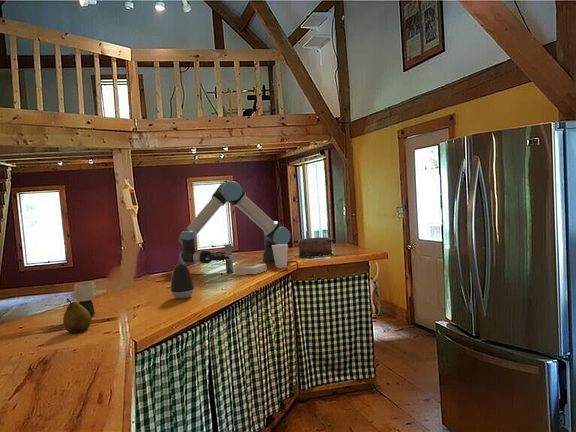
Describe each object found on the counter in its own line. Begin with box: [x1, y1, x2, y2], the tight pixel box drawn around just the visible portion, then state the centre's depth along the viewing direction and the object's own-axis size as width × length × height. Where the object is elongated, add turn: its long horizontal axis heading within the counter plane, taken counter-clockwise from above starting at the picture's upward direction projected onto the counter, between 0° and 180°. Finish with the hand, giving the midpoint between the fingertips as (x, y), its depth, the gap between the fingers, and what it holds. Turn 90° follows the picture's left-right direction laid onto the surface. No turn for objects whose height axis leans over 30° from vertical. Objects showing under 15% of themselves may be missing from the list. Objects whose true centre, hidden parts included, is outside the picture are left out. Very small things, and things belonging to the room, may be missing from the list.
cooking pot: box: [293, 236, 337, 258], centre depth 329 cm, size 30×22×11 cm
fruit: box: [62, 298, 92, 334], centre depth 167 cm, size 9×9×12 cm
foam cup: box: [272, 243, 289, 269], centre depth 283 cm, size 10×9×13 cm
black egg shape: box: [170, 263, 195, 300], centre depth 213 cm, size 10×10×15 cm
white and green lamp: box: [71, 281, 97, 317], centre depth 189 cm, size 11×7×13 cm, turn 153°
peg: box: [223, 243, 234, 274], centre depth 275 cm, size 4×4×16 cm
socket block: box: [234, 263, 268, 276], centre depth 270 cm, size 13×13×4 cm
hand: (236, 256), depth 273 cm, fingers closed on peg, 4 cm apart
